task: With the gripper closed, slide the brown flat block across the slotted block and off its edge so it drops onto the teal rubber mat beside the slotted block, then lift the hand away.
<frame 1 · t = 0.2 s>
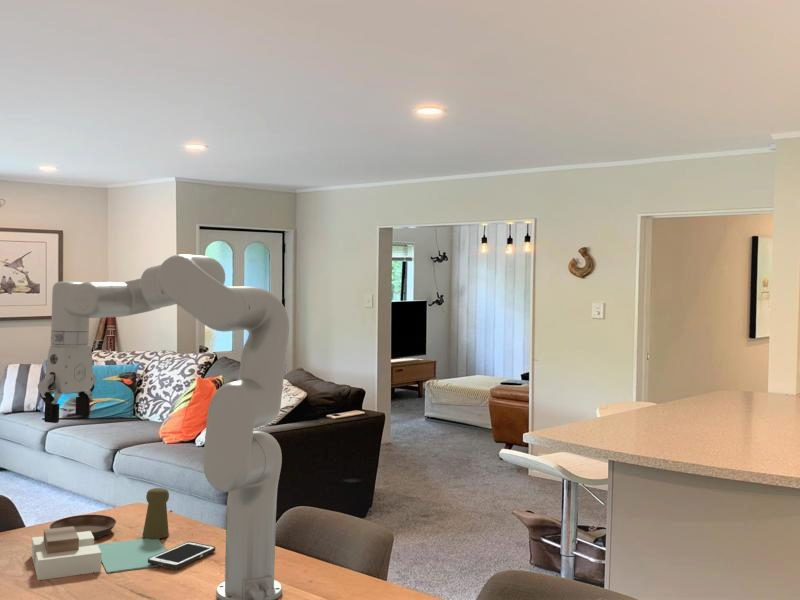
hand: (67, 418, 173), 30 cm above the table, tool pointing down, fingers open, 9 cm apart
mat: (133, 554, 178), on the table
pepper mill: (155, 536, 191), on the table, touching mat
saucer: (83, 535, 192), on the table
cell phone: (182, 558, 176), on the table, touching mat
slotted block: (65, 563, 171), on the table
brown flat block: (60, 545, 171), point 4 cm above the table, touching slotted block
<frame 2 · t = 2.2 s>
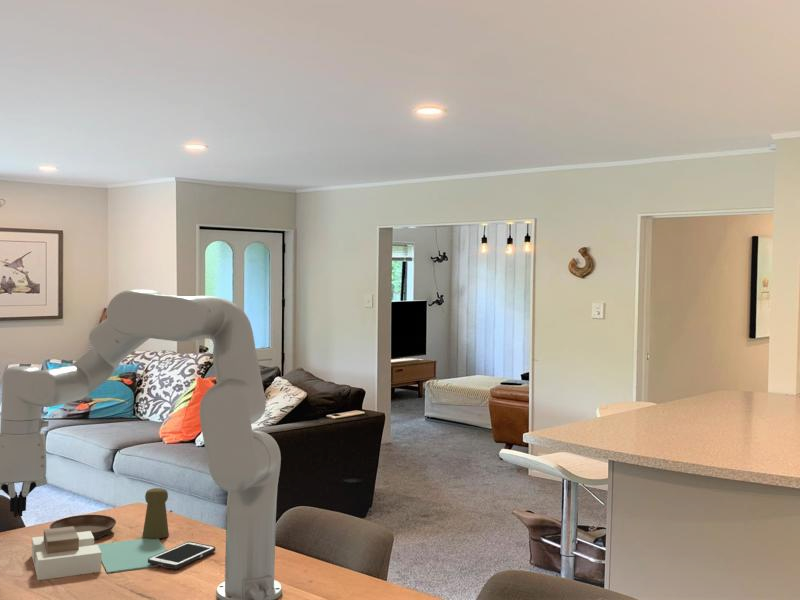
hand: (17, 514, 167), 11 cm above the table, tool pointing down, fingers closed
nothing on the table moved.
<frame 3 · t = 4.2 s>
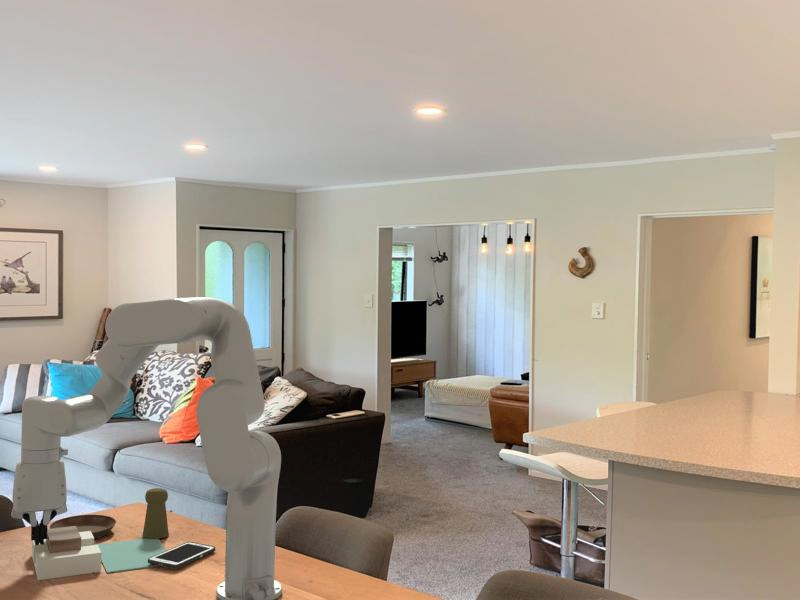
hand: (39, 542, 169), 5 cm above the table, tool pointing down, fingers closed
brown flat block: (63, 545, 171), point 4 cm above the table, touching slotted block, gripper
everything else where it was.
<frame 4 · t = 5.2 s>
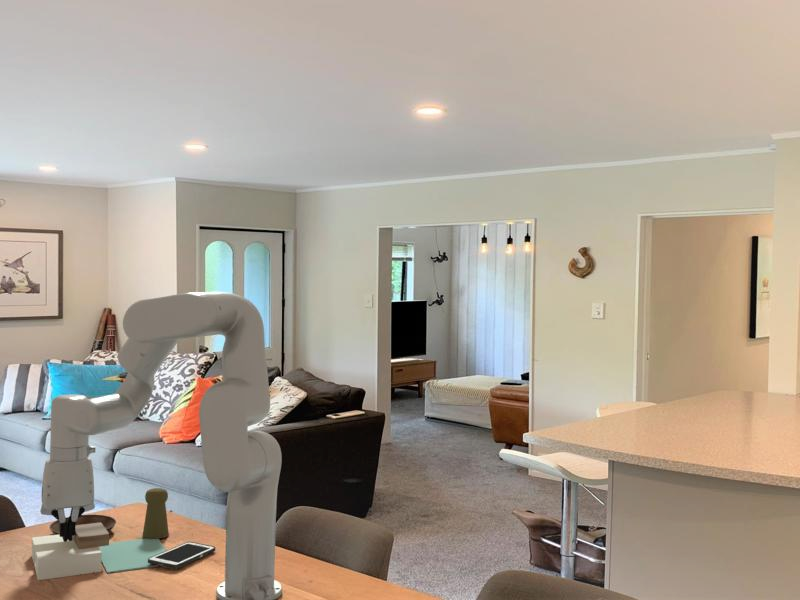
hand: (67, 539, 172), 5 cm above the table, tool pointing down, fingers closed
brown flat block: (90, 541, 174), point 4 cm above the table, touching slotted block, gripper
everything else where it was.
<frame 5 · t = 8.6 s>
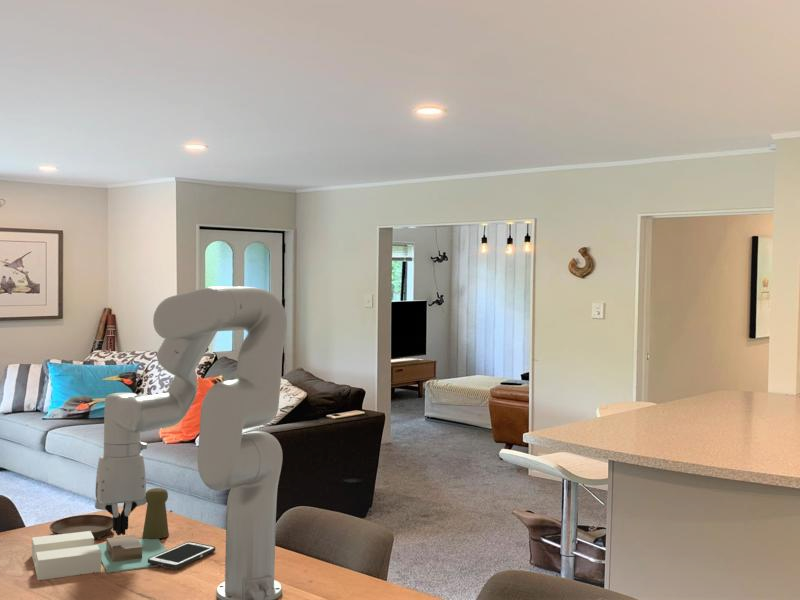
hand: (120, 533, 177), 5 cm above the table, tool pointing down, fingers closed
brown flat block: (124, 542, 178), point 3 cm above the table, tilted 180°, touching mat
everything else where it was.
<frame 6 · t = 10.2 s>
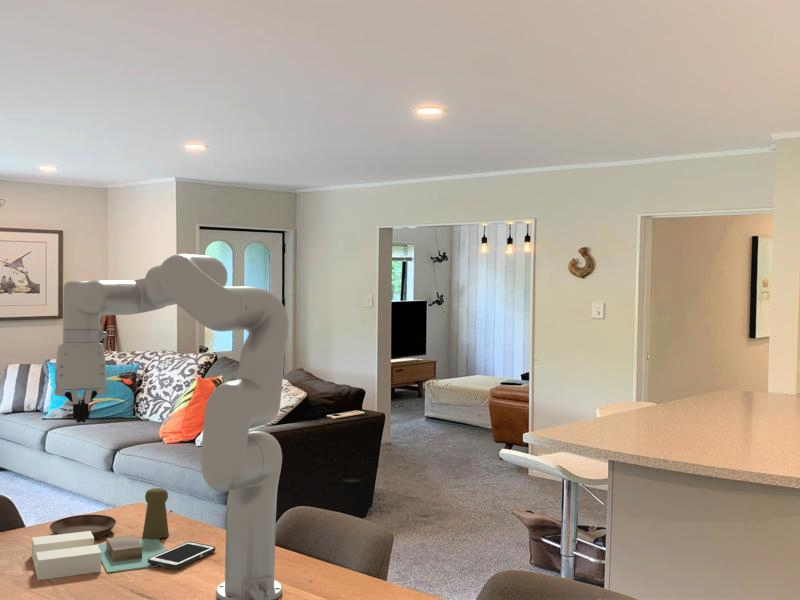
hand: (80, 421, 176), 29 cm above the table, tool pointing down, fingers closed
nothing on the table moved.
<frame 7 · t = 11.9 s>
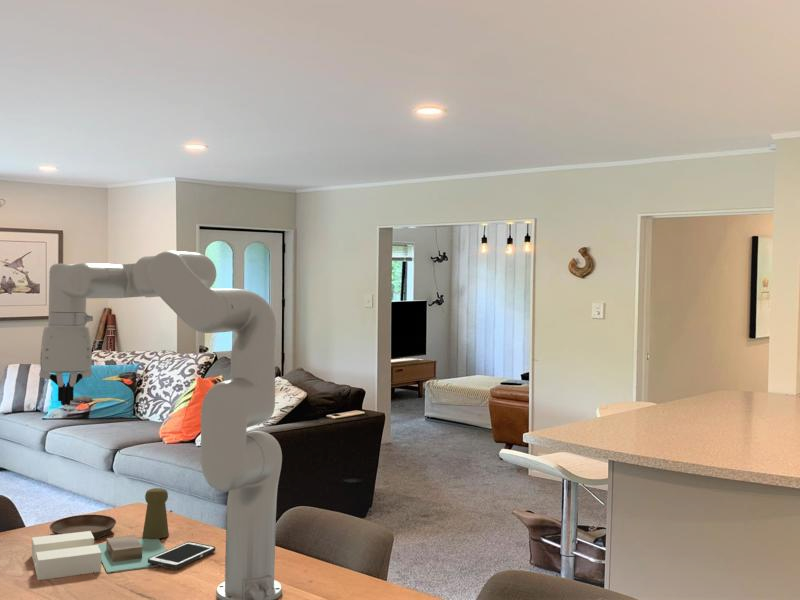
hand: (65, 404, 176), 33 cm above the table, tool pointing down, fingers closed
nothing on the table moved.
at the end: brown flat block inside the target area on the mat (2.1 cm from its centre), point 2.8 cm above the mat's base; brown flat block point 2.8 cm above the table; brown flat block touching mat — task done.
